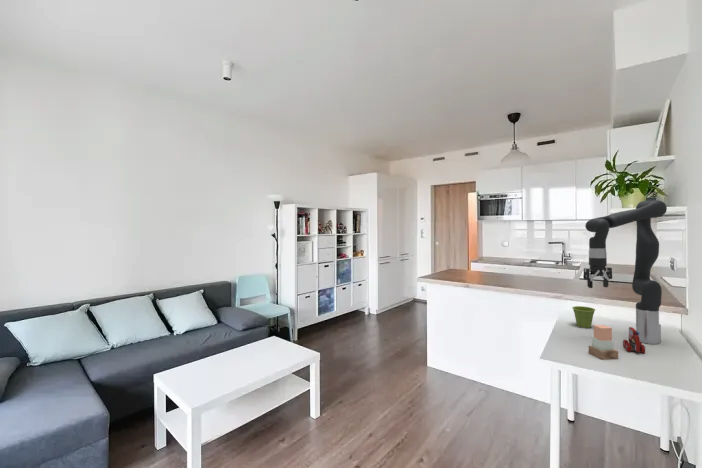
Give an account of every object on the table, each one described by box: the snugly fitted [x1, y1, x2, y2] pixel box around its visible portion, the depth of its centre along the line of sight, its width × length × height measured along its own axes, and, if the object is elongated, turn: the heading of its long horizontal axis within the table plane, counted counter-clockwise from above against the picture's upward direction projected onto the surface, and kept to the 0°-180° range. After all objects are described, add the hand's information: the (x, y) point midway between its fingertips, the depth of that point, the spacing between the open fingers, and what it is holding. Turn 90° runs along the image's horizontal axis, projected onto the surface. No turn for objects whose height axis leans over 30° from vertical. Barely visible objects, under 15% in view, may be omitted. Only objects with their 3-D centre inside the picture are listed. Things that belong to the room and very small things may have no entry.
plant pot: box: [571, 305, 596, 329], centre depth 204 cm, size 12×12×11 cm
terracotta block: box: [593, 324, 613, 341], centre depth 159 cm, size 5×5×6 cm
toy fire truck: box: [622, 326, 646, 354], centre depth 165 cm, size 7×12×10 cm, turn 152°
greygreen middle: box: [591, 336, 615, 351], centre depth 159 cm, size 6×6×4 cm
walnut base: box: [588, 345, 619, 361], centre depth 159 cm, size 8×8×4 cm
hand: (597, 287), depth 173 cm, fingers open, 8 cm apart
